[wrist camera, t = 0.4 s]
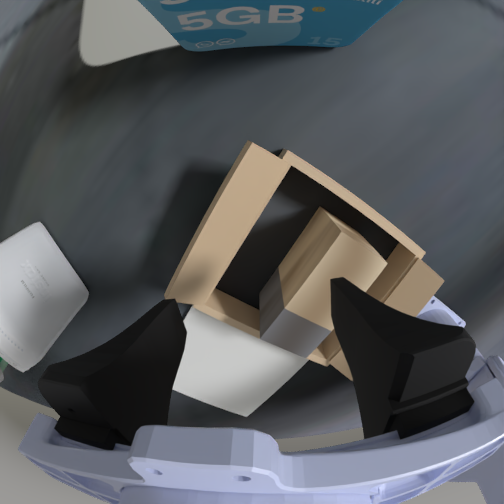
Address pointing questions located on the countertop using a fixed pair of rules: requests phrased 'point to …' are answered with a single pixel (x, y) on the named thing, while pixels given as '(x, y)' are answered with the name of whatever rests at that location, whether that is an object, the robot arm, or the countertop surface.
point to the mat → (231, 365)
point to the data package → (266, 21)
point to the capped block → (314, 283)
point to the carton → (241, 222)
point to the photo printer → (35, 295)
